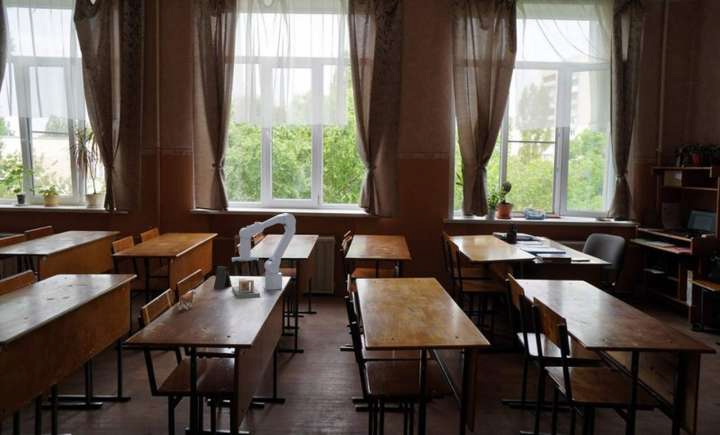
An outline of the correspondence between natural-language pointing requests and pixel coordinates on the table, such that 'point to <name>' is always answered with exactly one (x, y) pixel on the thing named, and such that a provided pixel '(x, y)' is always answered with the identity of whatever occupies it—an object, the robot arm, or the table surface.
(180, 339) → the table surface
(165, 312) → the table surface
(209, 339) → the table surface
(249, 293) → the deck
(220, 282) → the phone stand
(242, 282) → the tunnel
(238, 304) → the table surface
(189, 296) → the bull figurine
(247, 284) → the block
